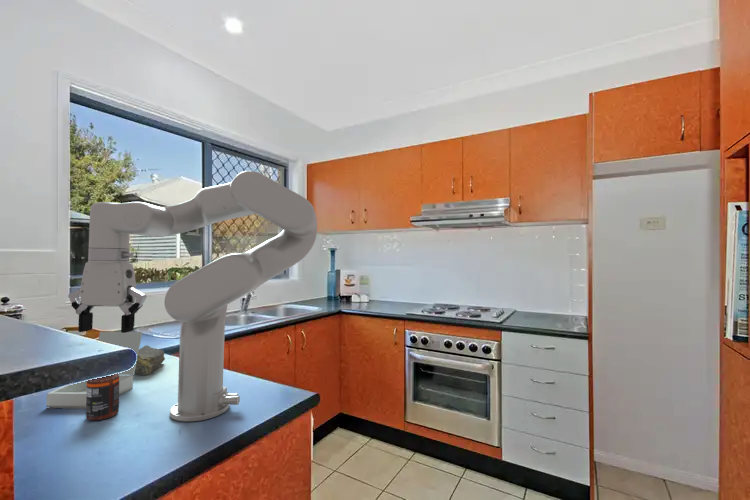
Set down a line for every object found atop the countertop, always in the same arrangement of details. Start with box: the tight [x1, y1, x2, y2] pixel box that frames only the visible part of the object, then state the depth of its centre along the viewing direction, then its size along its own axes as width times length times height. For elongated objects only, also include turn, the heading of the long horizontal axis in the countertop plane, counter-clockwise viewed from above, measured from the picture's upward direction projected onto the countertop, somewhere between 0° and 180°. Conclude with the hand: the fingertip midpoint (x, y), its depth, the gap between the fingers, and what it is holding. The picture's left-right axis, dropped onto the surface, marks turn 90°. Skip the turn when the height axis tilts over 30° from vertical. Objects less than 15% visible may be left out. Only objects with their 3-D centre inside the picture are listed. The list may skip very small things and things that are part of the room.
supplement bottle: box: [85, 373, 120, 422], centre depth 81 cm, size 6×6×11 cm
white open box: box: [45, 331, 143, 410], centre depth 93 cm, size 11×17×15 cm
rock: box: [135, 344, 166, 376], centre depth 115 cm, size 17×7×10 cm
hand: (106, 331), depth 82 cm, fingers open, 9 cm apart
